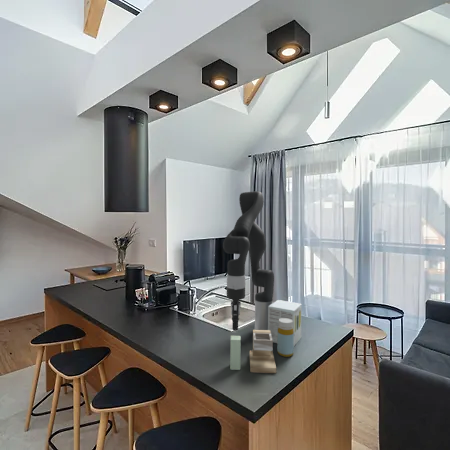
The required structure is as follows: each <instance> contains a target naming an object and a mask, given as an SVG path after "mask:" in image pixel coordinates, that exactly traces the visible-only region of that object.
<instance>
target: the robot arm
mask: <svg viewBox="0 0 450 450" xmlns="http://www.w3.org/2000/svg"><path fill="white" fill-rule="evenodd" d="M238 200H239V207H240V210H241V216H239V217H238V219H237V220H236V222H235V225H234V227H233V229H232V230H231V231H230V232H229V233H228V234H227V235H226V237H225V238H224V240H223V243H222V247H223V252H225V254H230V255H231V254H233V255H239V256H238V257H237V258H235V259H230V260H228V262H227V274H226V298H227V299H229V300H232V301H230V314H231V320H232V331H239V321H240V317H239V316H240V315H241V307H242V306H241V305H242V304H241V303H242V301H240V300H243V299H245V298H246V263H247V257H248V254H249V258H250V259H249V261H250V273H251V281H252V284H253V286H255V287H260V288H264V291H261V292H257V293H256V294H255V296H254V330H268V306H270V305H271V304H273V303H274V301H273V300H274V299H273V297H274V292H275V291H274V289H275V288H274V286H275V274H274V272H273V270H271V269H270V270H269V269H263V268H261V264H260V263H261V259H262V257H263V254H264V253H265V251H266V248H267V242H266V235H265V232H264V231H263V230H262V228H261V227H260V226H259V225H258V223H256V219H257V218H258V216H259V215H260V213H261V211H262V209H263V208H264V207H263V206H264V203H265V202H264V195H263V193H262V192H261V191H259V190H258V191H256V190H255V191H246V192H241V193H240V194H239V199H238Z"/></svg>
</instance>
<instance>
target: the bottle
mask: <svg viewBox="0 0 450 450" xmlns="http://www.w3.org/2000/svg"><path fill="white" fill-rule="evenodd" d="M294 347H295V346H294V331H293V320H291V319H289V318H280V319H279V328H278V343H277V348H276V349H277V354H278V355H279V356H281V357H285V358H289V357H292V356H293V355H294Z"/></svg>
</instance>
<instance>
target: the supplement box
mask: <svg viewBox="0 0 450 450" xmlns="http://www.w3.org/2000/svg"><path fill="white" fill-rule="evenodd" d="M302 309H303V307H302V303H299V302H294V301H287V300H281V299H277V300H276V301H273V304H271V305H270V306H268V330H270V332H271V336H272V340H273V344H274V343H275V344H278V328H279V319H280V318H289V319H291V320H293V331H294V347H295V346H296V345H297V343H298V342H299V341H300V340H301V339H302V317H303V316H302Z"/></svg>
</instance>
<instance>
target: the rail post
mask: <svg viewBox="0 0 450 450" xmlns="http://www.w3.org/2000/svg"><path fill="white" fill-rule="evenodd" d="M241 340H242V338H241V335H230V351H229V352H230V355H229V357H230V358H229V359H230V360H229V361H230V365H229V367H230V368H229V370H233V371H235V370H237V371H240V370H241V347H242V346H241Z"/></svg>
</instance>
